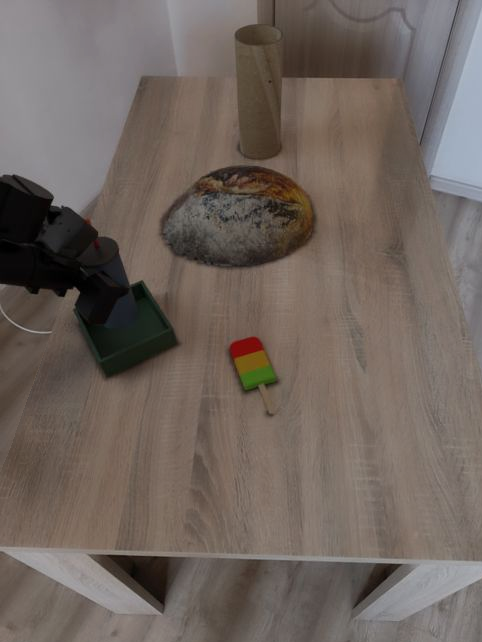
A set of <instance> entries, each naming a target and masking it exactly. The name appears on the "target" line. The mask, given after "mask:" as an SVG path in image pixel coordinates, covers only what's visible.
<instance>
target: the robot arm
mask: <svg viewBox="0 0 482 642" xmlns="http://www.w3.org/2000/svg"><path fill="white" fill-rule="evenodd" d="M54 199H55V196H54V194H53V193H52V192H50V191H49V190H48V189H47V188H45V187H43V186H42V185H40V184H38V183H37V182H34V181H32V180H31V179H28V178H26V177H24V176H20V175H18V174H14V173H13V174H12V175H11V174H2V176H0V285H7V286H14V287H15V286H16V287H23V288H25V289H26V291H27V292H28V293H29V294H30V295H39V293H40V290H46V291H52V292H53V293H54V294H55V295H56V297H58V298H65V297H66V295H67V293H68V291H69V290H70V291H73V290H74V289H76V290H77V291H78V292H79V293H78V296H77V298H76V301H75V303H74V308H76V309H77V311H78V312H79V313H80V314H81V315H82V316H83V317H84V318H85V319H86V320H87V321H88V322H89V323H90V324H91V325H104V324H106V322H107V320H108V318H109V316H110V314H111V312H112V310H113V308H114V306H115V304H116V302H117V300H118V299H119V298H121V297H123V296H125V295H127V294H128V292H129V290H130V288H129V287H127V286H124V285H121V284H118V283H115V282H114V281H113V279H112V278H111V277H110V276H108V275H107V274H106V273H105V272H104V271H103V270H102V271H101V273H94V274H91V275H88V274H87V273H86V272H85V271H84V270H83V269H82V268H81V265H82V263H83V262H82V261H81V260H80V259H78V258H76V257H79V256H81V255H82V254H83V252H84V251H85V250H86V249H87V248H88V247H89V245H90V244H91V243H92V242H94V241H95V240H96V239H97V237H99V231H98V230H97V228H95V227H94V226H93V225H92V226H91V225H90V224H89V223H88V222H87V221H86V220H85V219H86V218H84V217H82V216H81V215H80V214H78V213H77V212H76V211H75V210H74V209H72V207H69V206H65V205H61V206H59V205H53V201H54Z"/></svg>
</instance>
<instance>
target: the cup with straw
mask: <svg viewBox="0 0 482 642" xmlns="http://www.w3.org/2000/svg"><path fill="white" fill-rule="evenodd" d="M84 219H85V220H86V221H87V222H88V223H89V224H90V225H91V226H93V225H92V222H91V219H90V218H84ZM76 258H78V259H80V260H81V261H82V262H83V263H82V265H81V268H82V269H83V270H84V271H85V272H86V273H87V274H88V275H91V274H94V273H101V271H102V270H103V271H104V272H105V273H106V274H107V275H108V276H110V277H111V278H112V279H113V281H114V282H115V283H118V284H121V285H124V286H127V287H129V288H130V290H129V292H128V294H127V295H125V296H123V297H121V298H119V299H118V300H117V302H116V304H115V306H114V308H113V310H112V312H111V314H110V316H109V318H108V320H107V322H106V324H104V325H103V326H105V327H107V328H110V329H120V328H124V327H127V326H129V325H130V324H132V323H133V322H134V321H135V320H136V318H137V317H138V313H139V311H138V307H137V305H136V302H135V299H134V296H133V293H132V290H131V287H130V285H131V283H130V280H129V278H128V275H127V272H126V269H125V266H124V263H123V260H122V257H121V254H120V247H119V245H118V242H117V241H116V240H115V239H114V238H111V237H109V236H98V237H97V239H96V240H95V241H94V242H92V243H91V244H90V245H89V247H88V248H87V249H86V250H85V251H84V252H83V254H82V255H81V256H79V257H76Z"/></svg>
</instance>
